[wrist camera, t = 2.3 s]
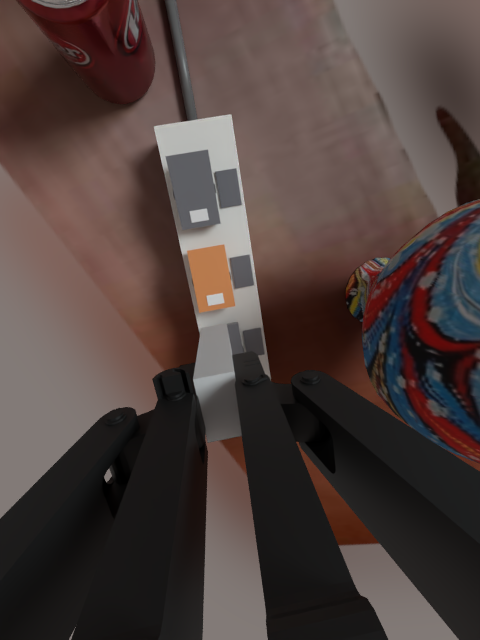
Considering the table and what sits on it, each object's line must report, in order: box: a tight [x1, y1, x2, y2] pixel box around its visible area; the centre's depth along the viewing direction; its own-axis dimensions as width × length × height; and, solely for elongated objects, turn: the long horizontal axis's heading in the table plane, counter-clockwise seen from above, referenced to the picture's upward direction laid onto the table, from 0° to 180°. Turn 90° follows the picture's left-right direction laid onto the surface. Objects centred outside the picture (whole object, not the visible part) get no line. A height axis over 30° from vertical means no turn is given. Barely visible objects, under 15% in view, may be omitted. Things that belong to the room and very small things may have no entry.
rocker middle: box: [187, 244, 235, 313], centre depth 28 cm, size 6×4×1 cm, turn 9°
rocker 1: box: [165, 150, 221, 230], centre depth 25 cm, size 6×4×1 cm, turn 9°
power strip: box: [154, 0, 271, 380], centre depth 29 cm, size 40×7×5 cm, turn 9°
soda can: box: [16, 0, 155, 104], centre depth 21 cm, size 7×7×12 cm
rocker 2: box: [227, 322, 244, 355], centre depth 30 cm, size 6×4×1 cm, turn 9°
